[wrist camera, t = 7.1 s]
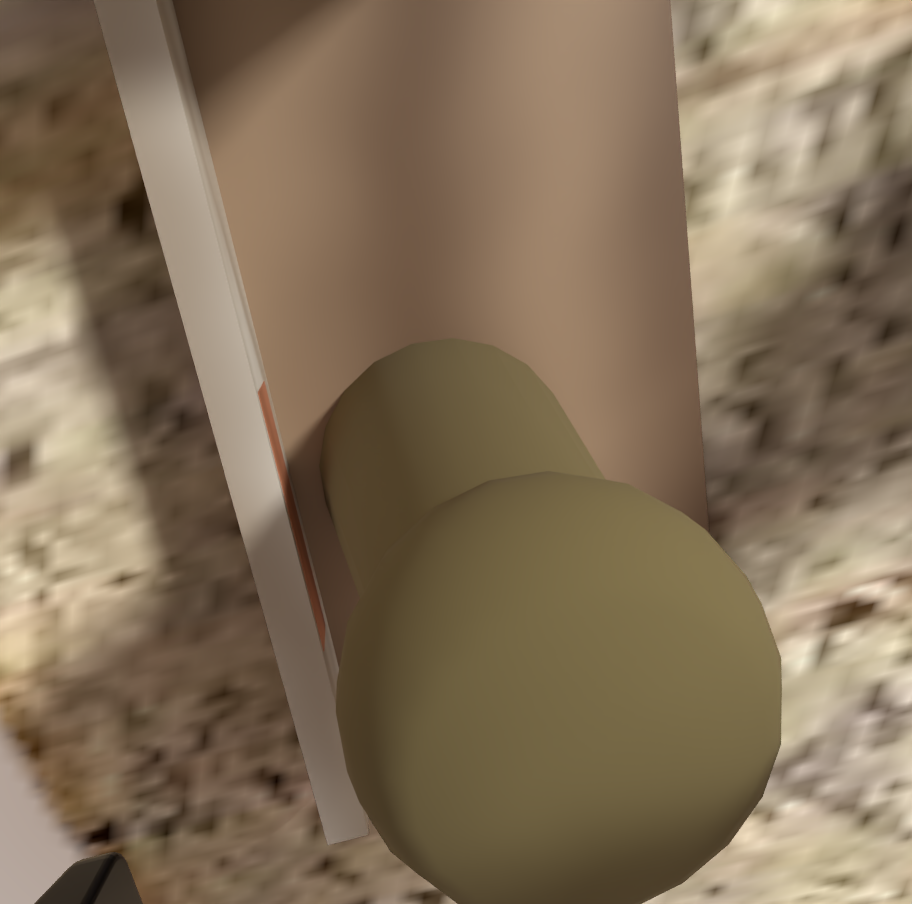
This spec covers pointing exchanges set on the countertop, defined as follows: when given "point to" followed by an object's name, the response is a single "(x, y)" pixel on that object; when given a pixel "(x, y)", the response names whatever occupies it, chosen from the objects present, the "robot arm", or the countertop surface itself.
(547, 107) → the shelf board
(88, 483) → the countertop surface
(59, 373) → the countertop surface
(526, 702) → the cork
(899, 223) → the countertop surface
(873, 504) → the countertop surface
